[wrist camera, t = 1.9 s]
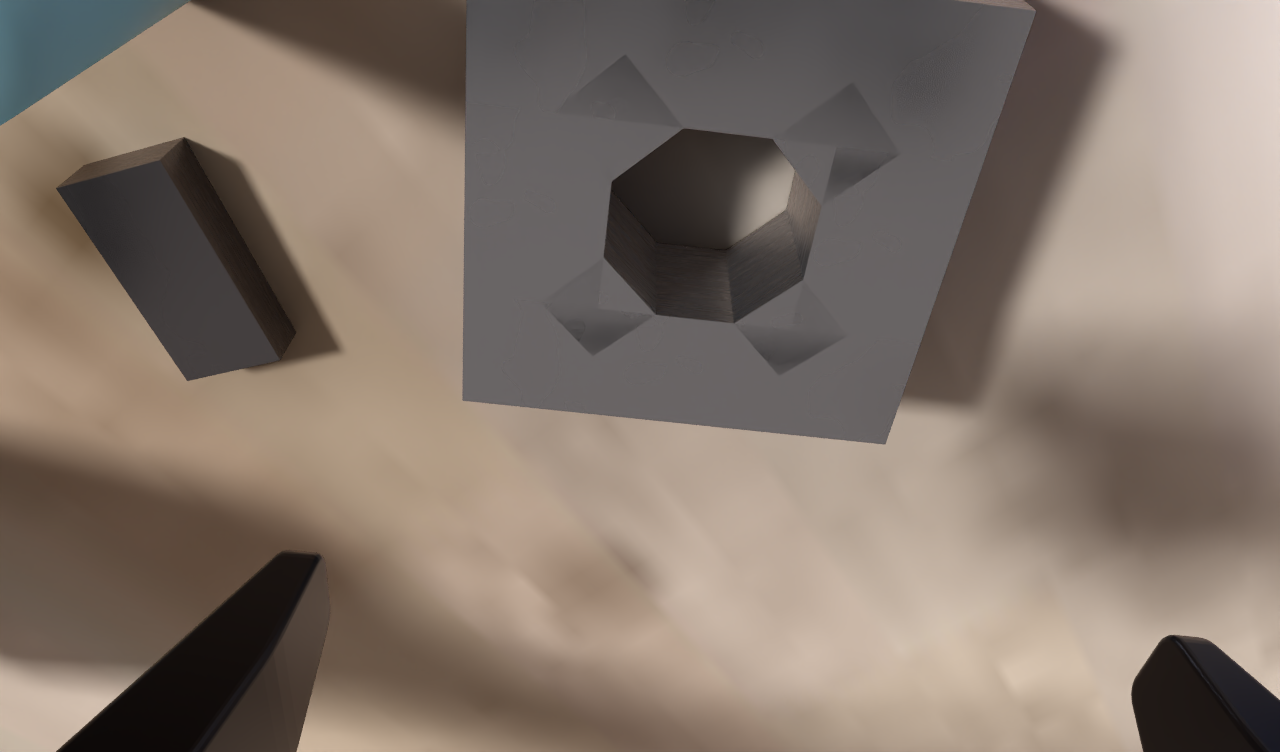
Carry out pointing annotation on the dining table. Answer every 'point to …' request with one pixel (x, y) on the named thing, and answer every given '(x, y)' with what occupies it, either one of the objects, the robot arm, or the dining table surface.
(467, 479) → the dining table surface
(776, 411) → the socket block
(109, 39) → the round bit
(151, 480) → the dining table surface
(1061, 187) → the dining table surface
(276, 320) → the charcoal rectangular brick
